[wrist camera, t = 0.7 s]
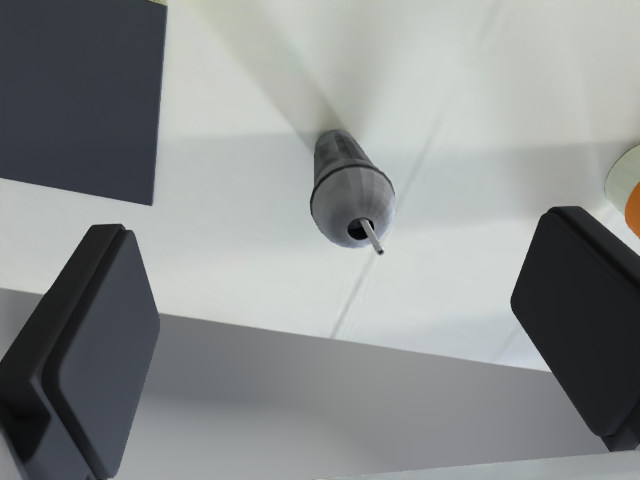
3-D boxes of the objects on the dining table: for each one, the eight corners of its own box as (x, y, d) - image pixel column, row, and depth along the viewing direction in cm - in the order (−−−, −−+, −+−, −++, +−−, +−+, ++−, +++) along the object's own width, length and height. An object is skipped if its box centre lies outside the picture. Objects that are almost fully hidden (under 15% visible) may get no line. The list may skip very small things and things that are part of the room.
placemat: (-50, -58, 32) (-53, -58, 32) (167, 6, 36) (166, 6, 35) (-13, 173, 43) (-15, 175, 42) (152, 204, 46) (151, 206, 46)
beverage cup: (291, 168, 45) (302, 291, 29) (317, 105, 42) (347, 206, 25) (351, 189, 48) (393, 314, 31) (381, 131, 44) (445, 239, 28)
